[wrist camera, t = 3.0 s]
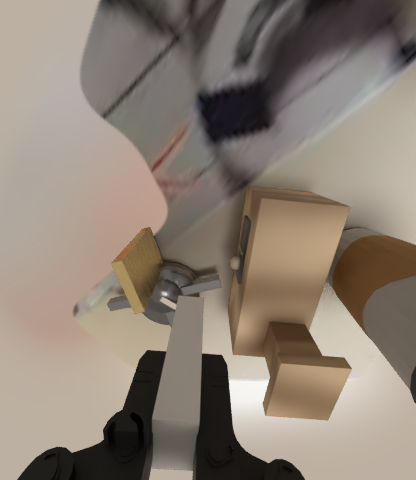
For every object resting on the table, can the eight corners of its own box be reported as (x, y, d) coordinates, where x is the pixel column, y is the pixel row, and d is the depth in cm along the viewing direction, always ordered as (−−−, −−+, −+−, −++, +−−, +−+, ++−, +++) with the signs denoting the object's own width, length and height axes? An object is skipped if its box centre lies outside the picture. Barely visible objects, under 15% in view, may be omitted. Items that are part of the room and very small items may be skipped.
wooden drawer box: (235, 184, 20) (260, 215, 10) (314, 192, 20) (416, 230, 10) (218, 309, 25) (223, 412, 15) (281, 314, 25) (328, 420, 15)
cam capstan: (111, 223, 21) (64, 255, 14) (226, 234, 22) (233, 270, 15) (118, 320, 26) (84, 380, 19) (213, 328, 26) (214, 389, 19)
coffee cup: (316, 299, 25) (456, 492, 11) (297, 234, 22) (454, 378, 8) (394, 275, 23) (671, 455, 9) (385, 203, 21) (759, 306, 7)
